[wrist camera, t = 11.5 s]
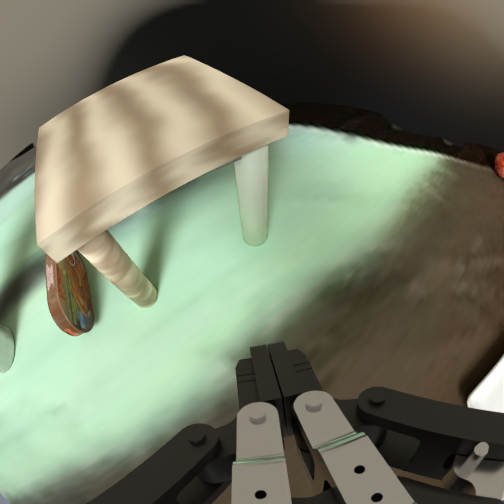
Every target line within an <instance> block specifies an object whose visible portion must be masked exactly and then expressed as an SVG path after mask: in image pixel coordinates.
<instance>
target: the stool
mask: <svg viewBox="0 0 504 504" xmlns="http://www.w3.org/2000/svg"><path fill="white" fill-rule="evenodd" d="M288 122H289V110H288V109H286V108H285V107H283V106H281V105H280V104H278V103H276V102H275V101H273V100H271V99H270V98H268V97H266V96H265V95H263V94H261V93H259V92H258V91H256V90H254V89H252V88H251V87H248V86H247V85H245V84H243V83H241V82H239V81H237V80H236V79H234V78H232V77H230V76H228V75H226V74H224V73H222V72H220V71H218V70H216V69H214V68H211V67H210V66H207V65H205V64H203V63H201V62H199V61H196V60H194V59H192V58H190V57H187V56H185V55H184V56H181V57H178V58H175V59H172V60H169V61H166V62H164V63H161V64H158V65H155V66H153V67H150V68H148V69H145V70H143V71H140V72H139V73H136V74H134V75H131V76H129V77H127V78H125V79H122V80H120V81H118V82H116V83H114V84H112V85H110V86H108V87H106V88H104V89H102V90H100V91H98V92H96V93H94V94H93V95H91V96H89V97H87V98H85V99H84V100H82V101H80V102H78V103H77V104H75V105H74V106H72V107H70V108H68V109H67V110H65V111H64V112H62V113H61V114H59V115H57V116H56V117H54V118H53V119H51V120H50V121H48V122H47V123H45V124H44V125H43V126H41V127H40V128H39V133H38V142H37V152H36V167H35V223H36V238H37V245H38V246H39V247H40V248H41V249H42V250H43V251H44V252H45V253H46V254H47V255H49V256H50V257H51V258H52V259H53V260H54V261H55V262H56V263H58V262H60V261H61V260H63V259H64V258H65V257H67V256H68V255H70V254H71V253H72V252H74V251H75V250H78V251H79V252H80V253H81V254H82V255H83V256H84V257H85V258H86V259H87V260H88V261H89V262H90V263H91V264H92V265H93V266H94V267H96V268H97V269H98V270H99V271H100V272H101V273H102V274H103V275H104V276H105V277H106V278H107V279H108V280H109V281H111V282H112V283H113V284H114V285H115V286H116V287H117V288H118V289H120V290H121V291H122V292H123V293H124V294H125V295H126V296H128V297H129V298H130V299H131V300H132V301H133V302H135V303H136V304H137V305H138V306H140V307H141V308H149V307H151V306H152V305H154V304H155V302H156V300H157V298H158V292H157V289H156V288H155V287H154V286H153V285H152V283H151V282H150V281H149V280H148V279H147V278H146V277H145V275H144V274H143V273H142V272H141V271H140V270H139V268H138V267H137V266H136V265H135V264H134V262H133V261H132V260H131V259H130V258H129V256H128V255H127V254H126V253H125V251H124V250H123V249H122V248H121V247H120V245H119V244H118V243H117V241H116V240H115V239H114V238H113V236H112V235H111V234H110V233H109V231H108V230H107V229H108V228H110V227H111V226H113V225H115V224H116V223H118V222H119V221H121V220H123V219H124V218H126V217H128V216H129V215H131V214H132V213H134V212H136V211H137V210H139V209H141V208H143V207H144V206H146V205H148V204H149V203H151V202H153V201H155V200H156V199H158V198H160V197H162V196H164V195H165V194H167V193H169V192H171V191H173V190H174V189H176V188H178V187H180V186H182V185H184V184H186V183H187V182H189V181H191V180H193V179H195V178H197V177H199V176H201V175H203V174H205V173H207V172H209V171H211V170H213V169H215V168H217V167H219V166H221V165H223V164H225V163H227V162H229V161H232V160H234V159H236V158H238V157H240V156H242V155H244V154H247V153H249V152H251V151H253V150H255V149H258V148H260V147H262V146H265V145H267V144H269V143H272V142H274V141H276V140H279V139H281V138H283V137H286V136H288Z"/></svg>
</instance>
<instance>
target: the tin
mask: <svg viewBox="0 0 504 504" xmlns="http://www.w3.org/2000/svg"><path fill="white" fill-rule="evenodd" d="M45 261H46V288H47V301H48V307H49V310H50V313H51V316H52V318H53V320H54V321H55V323H56V324H57V326H58V327H59V328H60V329H61V330H62V331H64V332H65V333H67V334H69V335H71V336H78V335H81V334H83V333H87V332H89V331H90V330H91V329H92V327H93V324H94V315H93V309H92V304H91V299H90V293H89V286H88V280H87V273H86V269H85V266H84V263H83V261H82V258H81V257H80V255H79V253H78V252H77V250H75V251H74V252H72V253H71V254H70V255H68V256H67V257H65V258H64V259H63V260H61V261H60V262H58V263H56V262H55V261H54V260H53V259H52V258H51V257H50V256H49V255H47V254H46V259H45Z"/></svg>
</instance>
